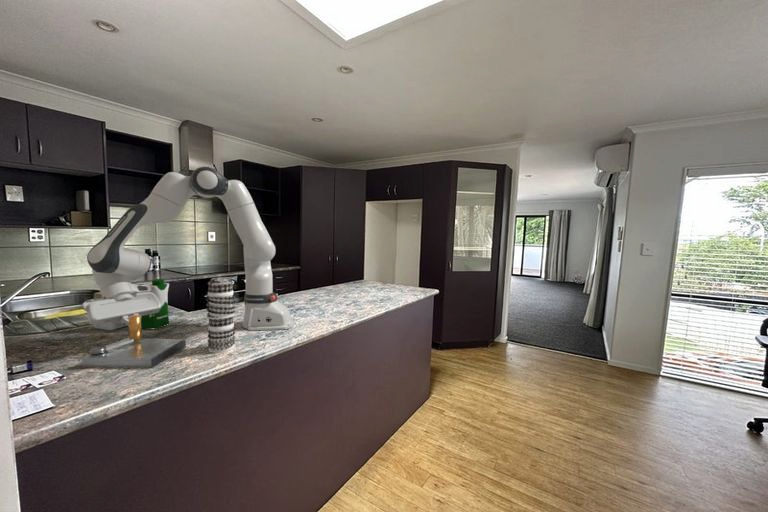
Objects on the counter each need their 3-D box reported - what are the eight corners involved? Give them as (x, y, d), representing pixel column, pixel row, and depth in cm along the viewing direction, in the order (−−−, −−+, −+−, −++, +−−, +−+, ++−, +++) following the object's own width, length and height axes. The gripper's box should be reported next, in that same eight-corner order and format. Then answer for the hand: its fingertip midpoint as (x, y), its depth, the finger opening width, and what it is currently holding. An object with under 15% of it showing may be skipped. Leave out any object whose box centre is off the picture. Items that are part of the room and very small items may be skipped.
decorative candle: (202, 353, 103) (200, 280, 101) (212, 343, 112) (211, 276, 110) (231, 352, 105) (230, 280, 103) (239, 342, 114) (238, 276, 112)
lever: (96, 355, 91) (94, 328, 90) (87, 354, 92) (85, 326, 91) (144, 339, 105) (143, 315, 104) (136, 338, 106) (135, 314, 105)
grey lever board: (185, 347, 108) (185, 338, 108) (152, 368, 92) (152, 357, 92) (125, 346, 107) (125, 337, 107) (82, 367, 91) (81, 356, 91)
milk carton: (155, 330, 125) (153, 281, 124) (136, 328, 126) (134, 280, 125) (173, 323, 134) (171, 278, 132) (154, 322, 135) (153, 277, 133)
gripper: (83, 295, 99) (97, 330, 95) (154, 285, 117) (169, 315, 113) (78, 306, 101) (92, 341, 97) (149, 295, 119) (163, 324, 115)
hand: (134, 327), depth 105 cm, fingers closed, pressing on lever
